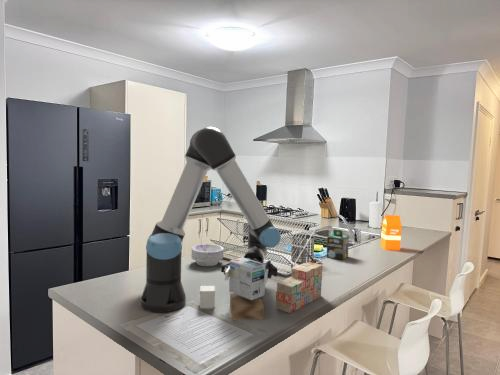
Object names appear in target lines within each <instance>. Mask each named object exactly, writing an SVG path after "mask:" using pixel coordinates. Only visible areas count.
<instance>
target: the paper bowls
mask: <svg viewBox="0 0 500 375" xmlns="http://www.w3.org/2000/svg"><path fill="white" fill-rule="evenodd" d="M224 250H225V249H224V247H223V246H221V245H218V244H216V243H215V244H214V243H201V244H200V243H199V244H195V245H193V246H192V247H191V255H190V256H191V259H192V260H193V261H195V263H196V264H197V265H199V266H200V267H213V266H216V265H218V263H219V262H220V261H221V260H223V258H224Z"/></svg>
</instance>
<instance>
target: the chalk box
mask: <svg viewBox="0 0 500 375" xmlns="http://www.w3.org/2000/svg"><path fill="white" fill-rule="evenodd" d="M337 233H339V234H337ZM326 238H327V239H326V258H330V259H335V260H339V261H344V260H345V259H346V258H347V257H349V247H350V246H349V243H350V242H349V238H350V235H345V234H343V230H339V229H333V234H330V235H328V236H327V237H326Z"/></svg>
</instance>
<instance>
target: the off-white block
mask: <svg viewBox="0 0 500 375" xmlns="http://www.w3.org/2000/svg"><path fill="white" fill-rule="evenodd" d="M215 299H216V285H200V288H199V309H215V304H216V303H215V301H216V300H215Z"/></svg>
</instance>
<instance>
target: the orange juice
mask: <svg viewBox="0 0 500 375" xmlns="http://www.w3.org/2000/svg"><path fill="white" fill-rule="evenodd" d="M380 236H381V239H380V248H382V249H383V250H385V251H400V250H401V241H402V221H401V216H400V215H390V214H384V218H383V219H382V223H381V235H380Z"/></svg>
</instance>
